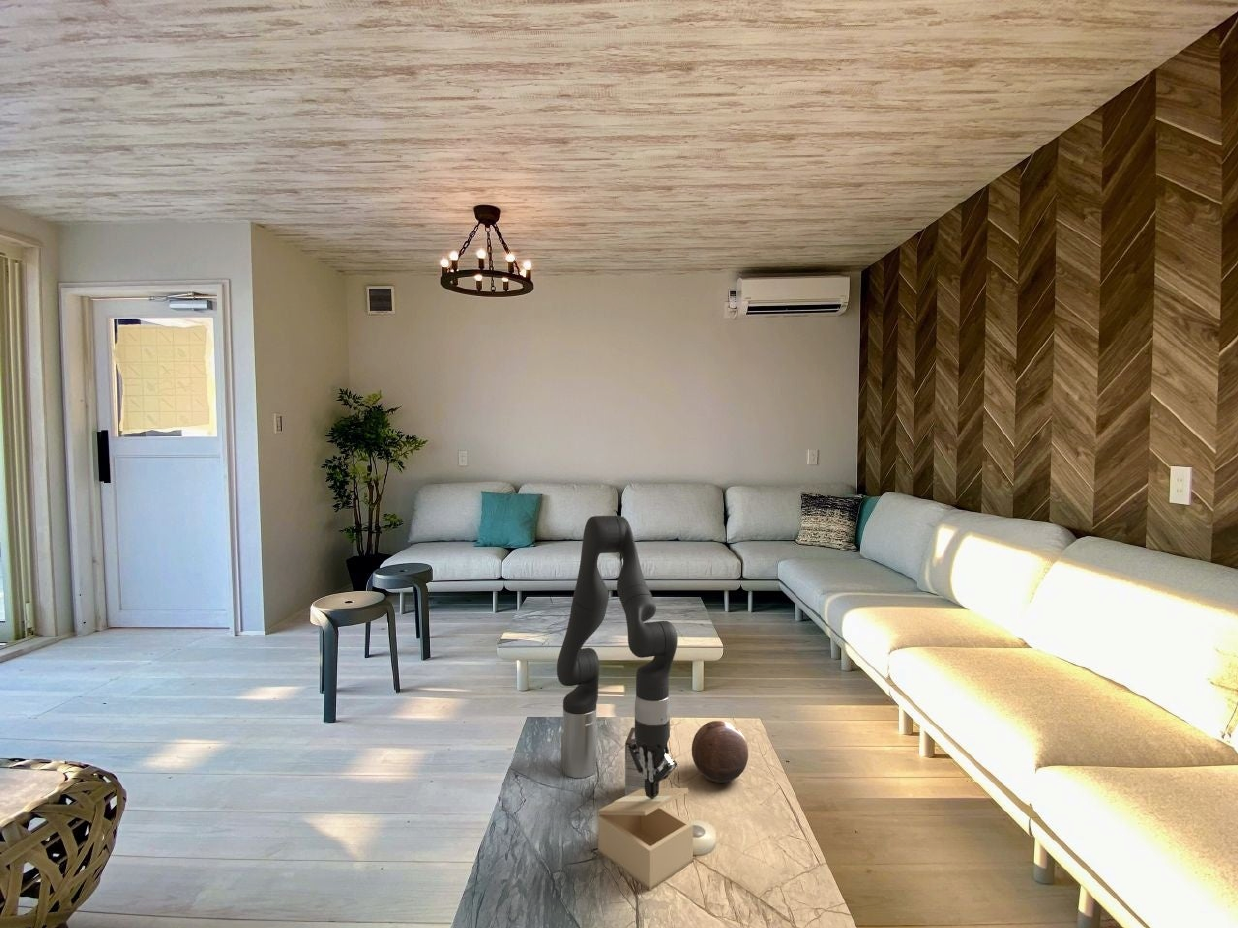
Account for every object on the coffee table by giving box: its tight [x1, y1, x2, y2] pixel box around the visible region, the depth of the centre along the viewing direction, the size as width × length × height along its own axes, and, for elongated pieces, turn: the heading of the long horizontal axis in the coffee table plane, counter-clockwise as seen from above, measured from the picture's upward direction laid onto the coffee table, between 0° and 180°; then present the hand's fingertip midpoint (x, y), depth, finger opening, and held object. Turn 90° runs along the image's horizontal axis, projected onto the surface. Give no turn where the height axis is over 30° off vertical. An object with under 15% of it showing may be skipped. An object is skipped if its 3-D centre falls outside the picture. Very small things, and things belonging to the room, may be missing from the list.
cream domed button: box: [685, 819, 717, 856], centre depth 137 cm, size 9×9×2 cm
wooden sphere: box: [691, 720, 749, 784], centre depth 164 cm, size 15×15×15 cm
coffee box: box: [624, 726, 645, 796], centre depth 154 cm, size 9×6×16 cm
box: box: [597, 806, 694, 891], centre depth 132 cm, size 16×13×8 cm
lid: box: [597, 787, 690, 815], centre depth 132 cm, size 16×13×1 cm
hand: (651, 796), depth 130 cm, fingers closed
